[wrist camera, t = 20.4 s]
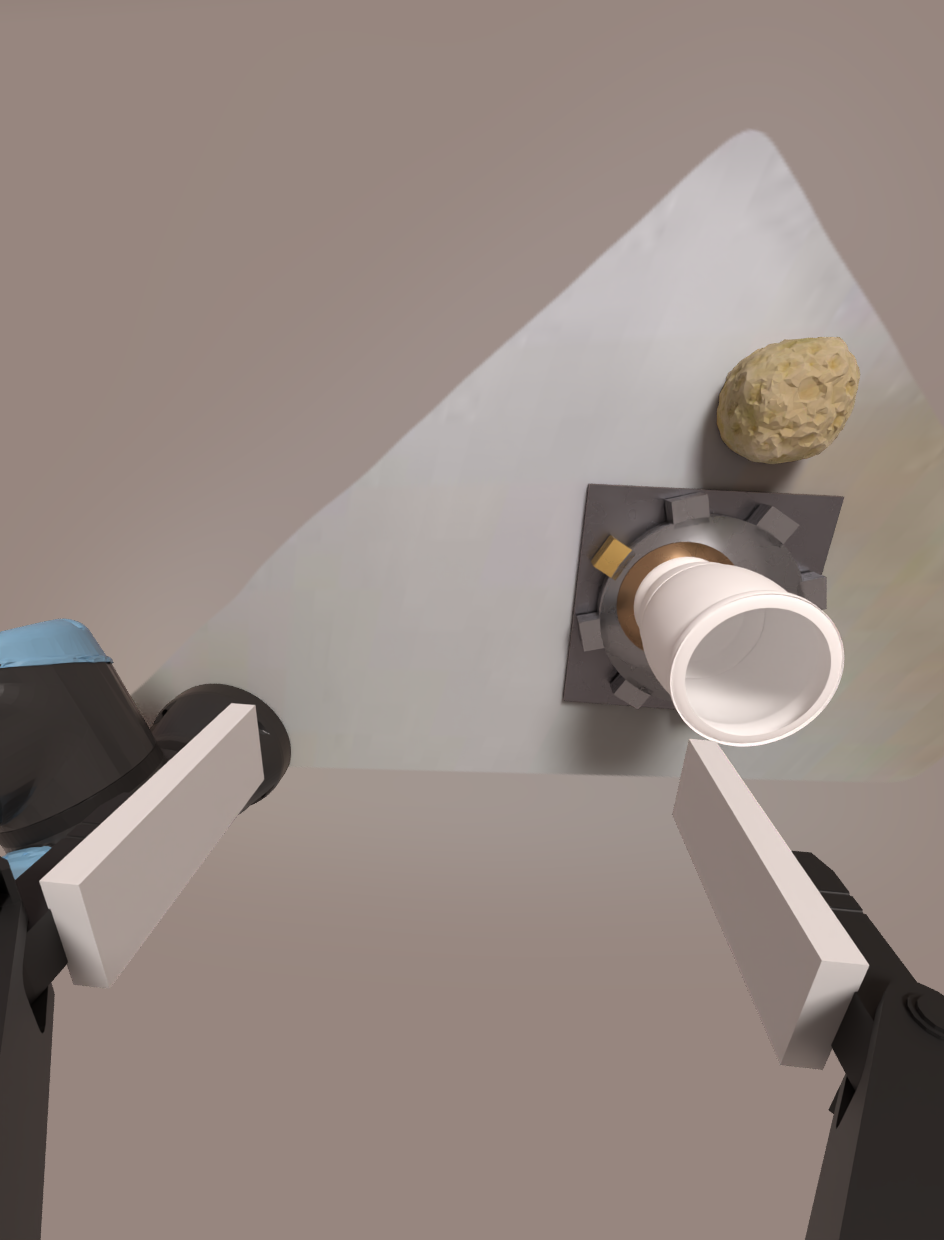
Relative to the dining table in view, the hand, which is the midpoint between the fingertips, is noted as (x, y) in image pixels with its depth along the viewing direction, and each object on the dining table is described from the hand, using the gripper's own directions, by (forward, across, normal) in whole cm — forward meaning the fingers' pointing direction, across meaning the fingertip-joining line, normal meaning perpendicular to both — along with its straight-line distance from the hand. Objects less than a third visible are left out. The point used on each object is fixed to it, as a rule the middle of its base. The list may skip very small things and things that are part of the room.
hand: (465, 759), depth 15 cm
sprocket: (+34, +19, -5) cm, 39 cm away
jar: (+31, +17, -4) cm, 36 cm away
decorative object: (+35, +22, +13) cm, 43 cm away
